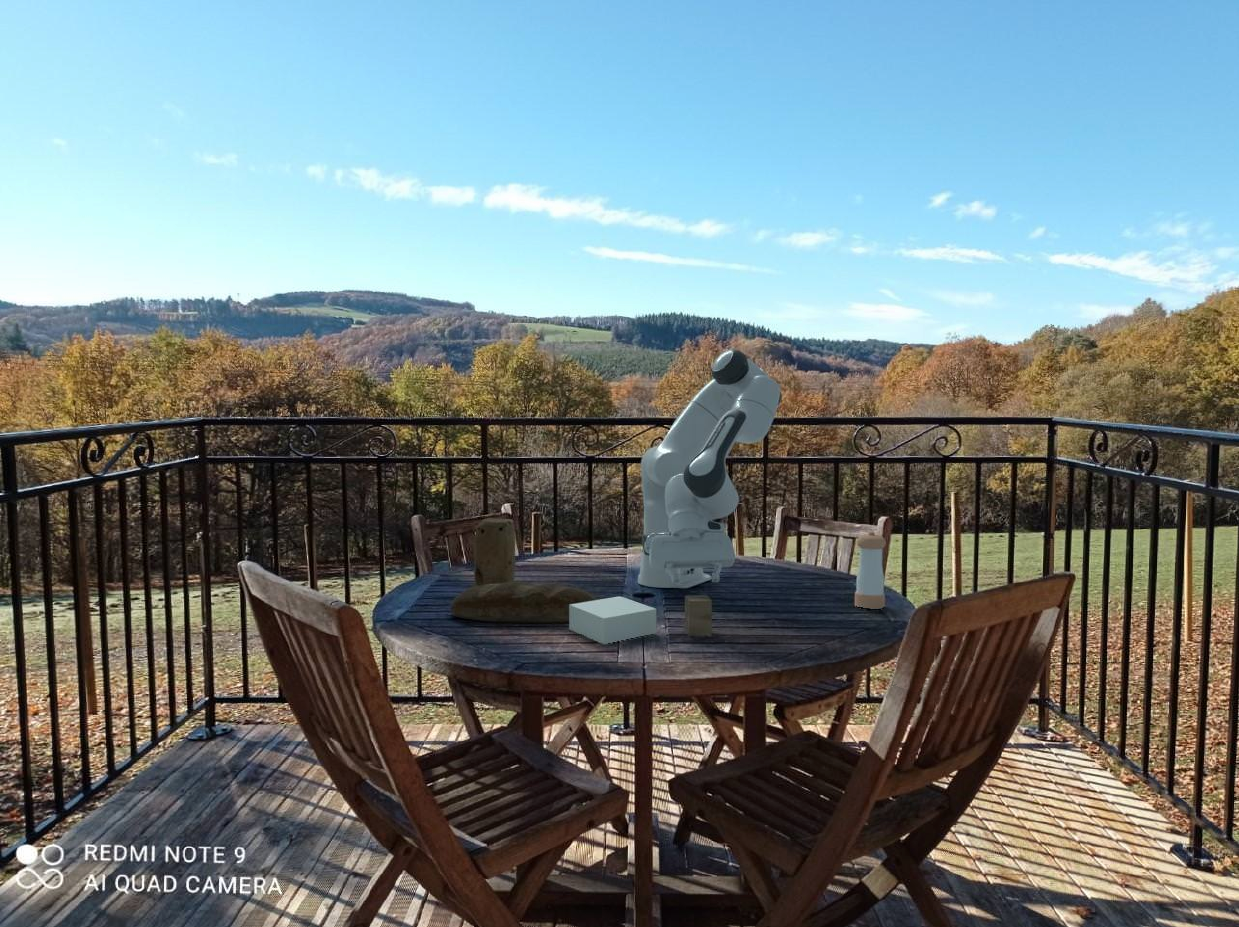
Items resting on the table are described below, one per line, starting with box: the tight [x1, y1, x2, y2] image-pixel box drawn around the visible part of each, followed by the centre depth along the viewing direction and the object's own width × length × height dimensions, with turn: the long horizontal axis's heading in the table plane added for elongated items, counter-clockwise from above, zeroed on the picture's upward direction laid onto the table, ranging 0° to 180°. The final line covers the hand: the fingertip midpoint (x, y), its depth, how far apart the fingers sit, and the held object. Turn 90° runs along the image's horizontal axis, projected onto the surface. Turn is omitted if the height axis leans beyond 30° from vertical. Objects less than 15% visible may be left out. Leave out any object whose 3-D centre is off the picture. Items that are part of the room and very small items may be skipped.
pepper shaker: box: [854, 530, 887, 609], centre depth 198 cm, size 7×7×19 cm
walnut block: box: [684, 594, 713, 637], centre depth 175 cm, size 5×5×8 cm
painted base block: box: [568, 596, 657, 645], centre depth 176 cm, size 14×14×6 cm
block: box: [473, 517, 516, 587], centre depth 212 cm, size 11×8×20 cm
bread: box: [449, 580, 599, 624], centre depth 189 cm, size 16×36×8 cm, turn 87°
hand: (696, 581), depth 181 cm, fingers open, 8 cm apart
